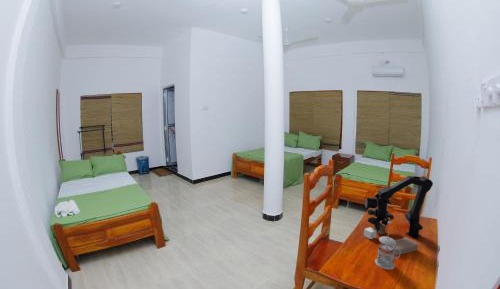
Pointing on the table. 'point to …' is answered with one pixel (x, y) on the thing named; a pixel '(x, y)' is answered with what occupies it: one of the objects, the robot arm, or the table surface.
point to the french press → (386, 246)
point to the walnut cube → (381, 229)
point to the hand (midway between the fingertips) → (379, 230)
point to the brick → (404, 246)
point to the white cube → (370, 233)
